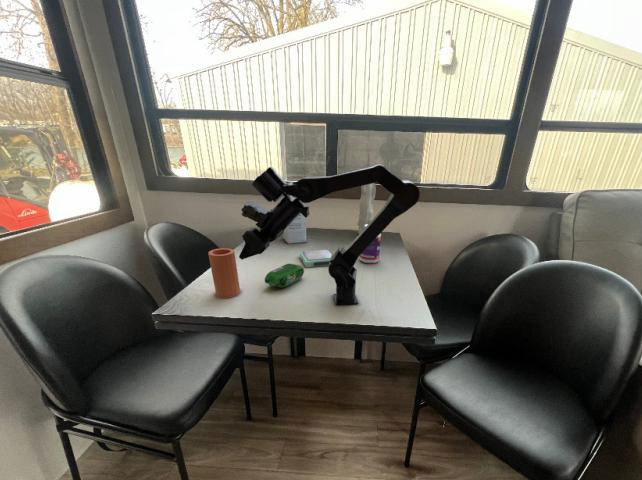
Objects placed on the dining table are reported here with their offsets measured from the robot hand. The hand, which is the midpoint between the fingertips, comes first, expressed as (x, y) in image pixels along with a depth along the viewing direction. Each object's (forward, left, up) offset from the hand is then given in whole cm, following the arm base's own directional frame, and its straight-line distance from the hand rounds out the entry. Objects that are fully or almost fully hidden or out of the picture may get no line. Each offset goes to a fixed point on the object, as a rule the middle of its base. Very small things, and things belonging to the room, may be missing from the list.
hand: (246, 252), depth 84 cm
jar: (+2, +7, -13) cm, 15 cm away
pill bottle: (+28, -43, -13) cm, 53 cm away
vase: (+68, -50, -13) cm, 85 cm away
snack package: (+8, -10, -13) cm, 18 cm away
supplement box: (+59, -13, -13) cm, 61 cm away
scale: (+29, -22, -13) cm, 38 cm away
